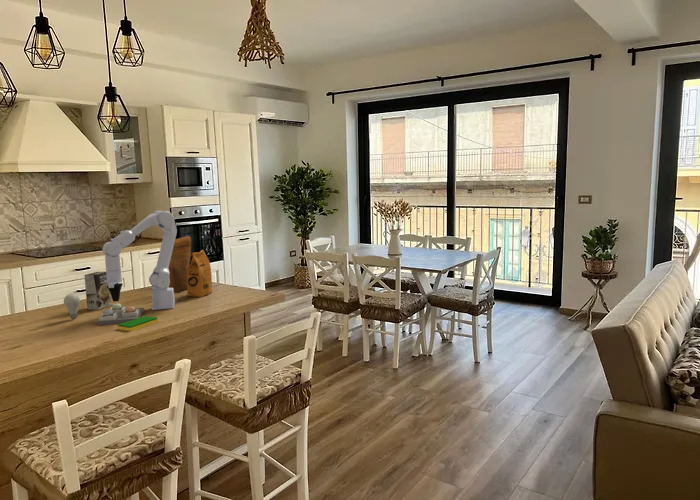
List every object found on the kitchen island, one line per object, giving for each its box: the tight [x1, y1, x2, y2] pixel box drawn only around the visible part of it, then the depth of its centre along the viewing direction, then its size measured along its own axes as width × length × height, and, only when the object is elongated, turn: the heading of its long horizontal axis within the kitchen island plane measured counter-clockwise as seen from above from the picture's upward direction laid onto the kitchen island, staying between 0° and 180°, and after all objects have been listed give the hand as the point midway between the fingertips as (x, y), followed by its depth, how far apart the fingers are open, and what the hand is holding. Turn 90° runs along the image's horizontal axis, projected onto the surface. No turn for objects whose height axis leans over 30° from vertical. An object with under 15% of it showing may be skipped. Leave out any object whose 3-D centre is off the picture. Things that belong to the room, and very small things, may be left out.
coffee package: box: [186, 249, 213, 298], centre depth 254 cm, size 10×12×22 cm
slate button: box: [102, 309, 113, 317], centre depth 208 cm, size 4×4×2 cm
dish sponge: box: [117, 315, 159, 332], centre depth 203 cm, size 7×14×2 cm, turn 154°
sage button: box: [111, 303, 122, 310], centre depth 218 cm, size 4×4×2 cm
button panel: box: [96, 306, 145, 326], centre depth 215 cm, size 15×18×3 cm
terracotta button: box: [125, 305, 136, 313], centre depth 213 cm, size 4×4×2 cm
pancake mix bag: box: [168, 235, 192, 294], centre depth 264 cm, size 7×19×28 cm, turn 157°
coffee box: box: [84, 271, 113, 311], centre depth 233 cm, size 9×6×16 cm
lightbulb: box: [63, 293, 81, 320], centre depth 213 cm, size 6×6×11 cm
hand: (116, 301), depth 218 cm, fingers closed
